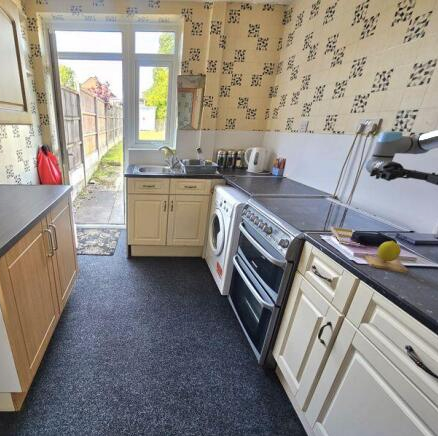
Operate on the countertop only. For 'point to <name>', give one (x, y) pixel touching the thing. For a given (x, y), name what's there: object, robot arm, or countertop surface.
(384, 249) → the lemon
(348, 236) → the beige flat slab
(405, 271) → the board
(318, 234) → the countertop surface
